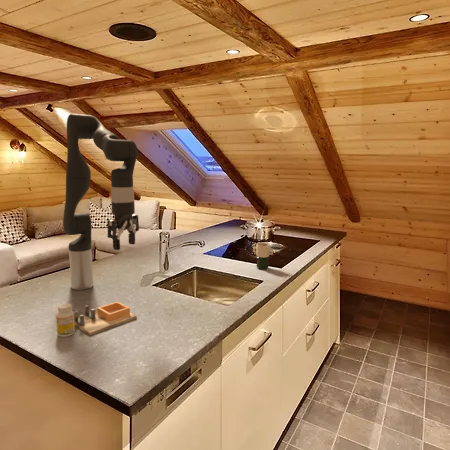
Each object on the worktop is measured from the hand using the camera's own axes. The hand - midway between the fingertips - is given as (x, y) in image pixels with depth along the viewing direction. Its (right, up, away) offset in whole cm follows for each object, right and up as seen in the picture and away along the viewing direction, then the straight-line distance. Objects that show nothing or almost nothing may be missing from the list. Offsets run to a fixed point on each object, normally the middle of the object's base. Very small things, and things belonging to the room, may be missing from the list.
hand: (124, 246), depth 127 cm
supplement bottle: (-18, -28, -6) cm, 34 cm away
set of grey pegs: (-14, -26, +2) cm, 29 cm away
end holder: (-6, -26, +7) cm, 27 cm away
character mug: (+55, -16, +68) cm, 89 cm away
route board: (-8, -26, +4) cm, 28 cm away
